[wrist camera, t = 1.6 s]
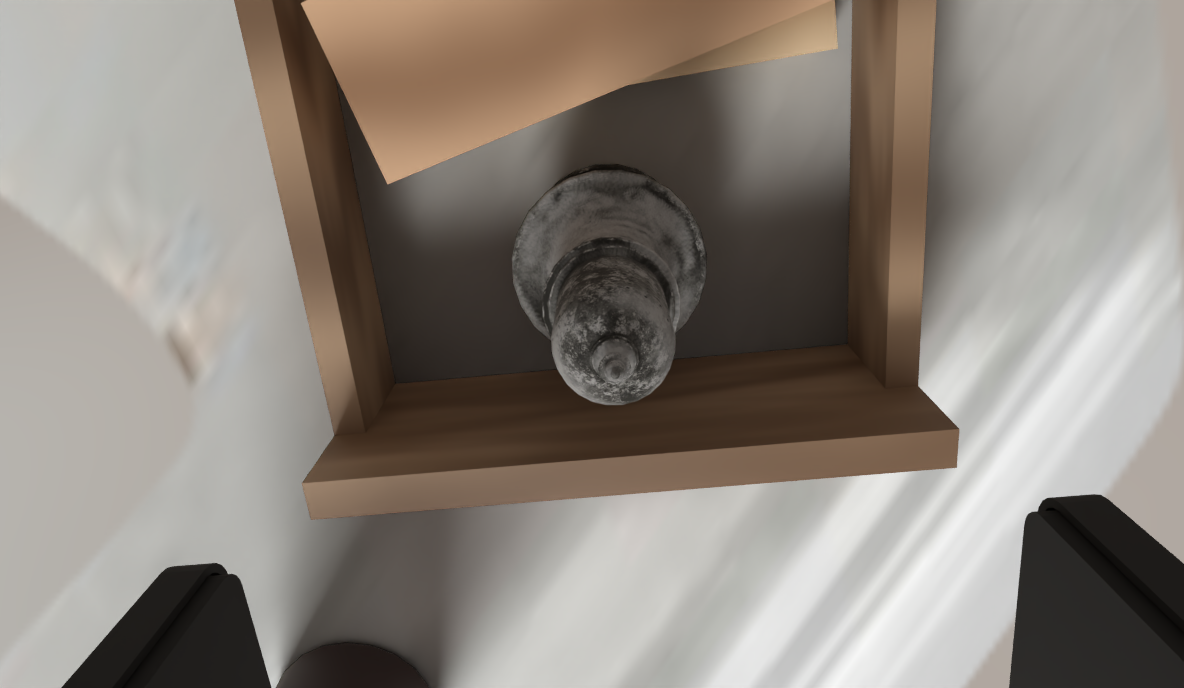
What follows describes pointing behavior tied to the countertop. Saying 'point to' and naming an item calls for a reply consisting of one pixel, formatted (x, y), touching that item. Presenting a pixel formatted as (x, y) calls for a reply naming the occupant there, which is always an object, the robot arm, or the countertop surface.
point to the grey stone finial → (610, 279)
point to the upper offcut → (506, 61)
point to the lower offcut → (766, 44)
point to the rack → (693, 385)
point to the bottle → (350, 669)
